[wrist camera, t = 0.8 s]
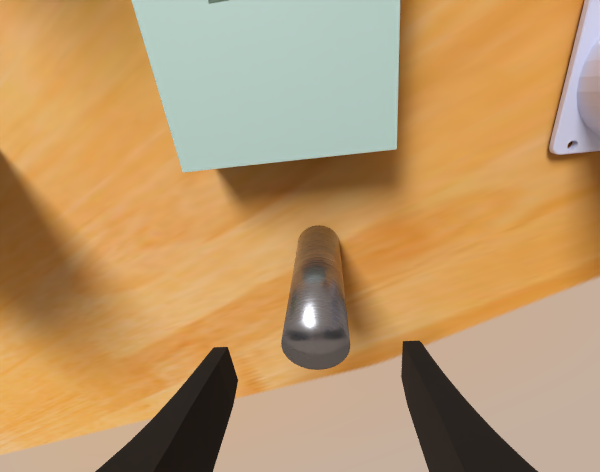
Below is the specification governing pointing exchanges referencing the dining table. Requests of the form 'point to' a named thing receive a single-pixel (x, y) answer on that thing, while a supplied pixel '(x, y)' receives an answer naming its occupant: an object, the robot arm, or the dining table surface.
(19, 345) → the dining table surface
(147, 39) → the hole block
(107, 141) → the dining table surface
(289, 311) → the metal peg
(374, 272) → the dining table surface
